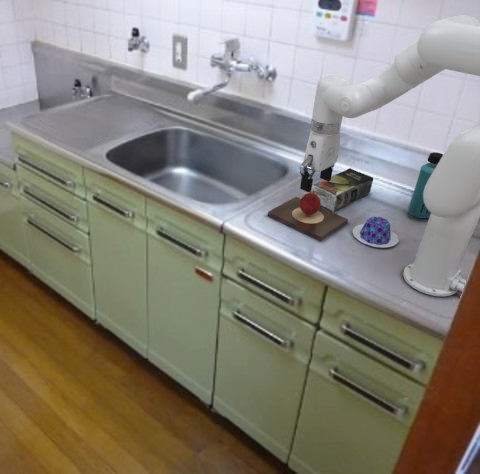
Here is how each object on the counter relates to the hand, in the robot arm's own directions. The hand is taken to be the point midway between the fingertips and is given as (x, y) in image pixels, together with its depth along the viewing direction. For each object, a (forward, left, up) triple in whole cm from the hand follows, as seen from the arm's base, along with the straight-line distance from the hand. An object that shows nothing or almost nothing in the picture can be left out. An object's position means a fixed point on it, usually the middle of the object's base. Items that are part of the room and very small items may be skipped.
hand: (315, 184), depth 147 cm
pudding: (-17, -6, -12) cm, 22 cm away
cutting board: (+1, 0, -12) cm, 12 cm away
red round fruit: (0, 0, -10) cm, 10 cm away
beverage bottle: (-20, -26, -12) cm, 35 cm away
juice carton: (+2, -19, -12) cm, 22 cm away
